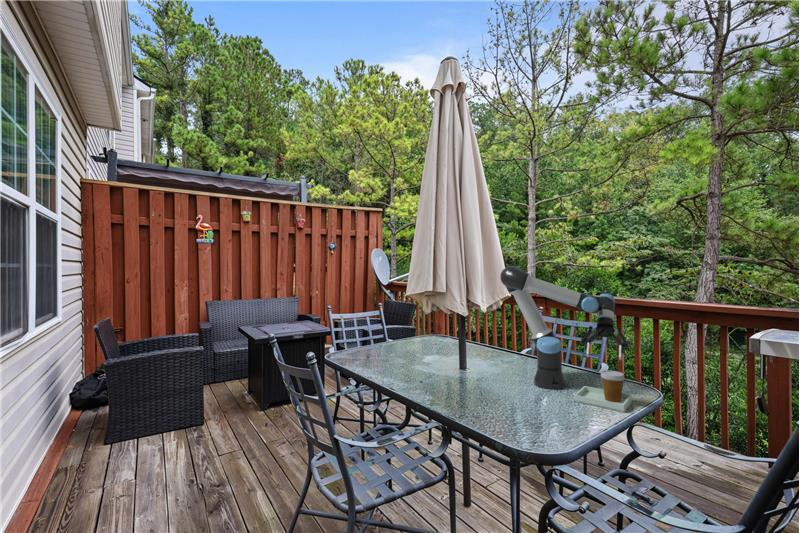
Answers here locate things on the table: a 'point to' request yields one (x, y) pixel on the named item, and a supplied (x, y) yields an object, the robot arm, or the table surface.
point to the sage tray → (601, 399)
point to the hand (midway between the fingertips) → (603, 357)
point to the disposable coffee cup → (612, 385)
